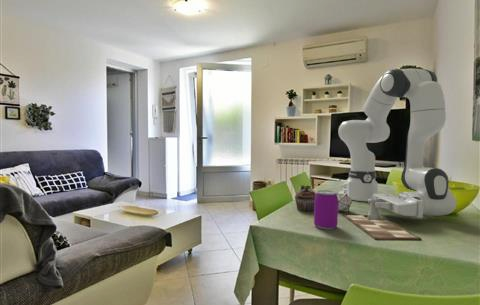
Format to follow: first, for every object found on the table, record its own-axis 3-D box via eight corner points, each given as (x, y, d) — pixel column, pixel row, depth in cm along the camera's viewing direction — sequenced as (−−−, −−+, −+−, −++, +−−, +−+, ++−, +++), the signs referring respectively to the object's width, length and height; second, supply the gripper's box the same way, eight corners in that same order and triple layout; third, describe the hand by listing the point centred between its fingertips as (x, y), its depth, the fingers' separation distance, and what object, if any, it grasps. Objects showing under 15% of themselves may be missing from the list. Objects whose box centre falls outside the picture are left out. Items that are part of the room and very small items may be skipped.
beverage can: (313, 228, 97) (314, 193, 96) (314, 222, 104) (315, 189, 104) (337, 231, 95) (339, 194, 94) (336, 224, 102) (337, 190, 102)
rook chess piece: (364, 217, 112) (365, 196, 111) (375, 217, 112) (376, 196, 112) (371, 220, 107) (371, 199, 107) (382, 220, 108) (383, 199, 107)
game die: (346, 221, 119) (357, 205, 113) (326, 212, 121) (335, 196, 114) (347, 206, 126) (358, 190, 120) (328, 198, 127) (338, 182, 121)
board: (343, 215, 113) (343, 214, 113) (378, 216, 114) (378, 215, 114) (375, 239, 87) (375, 238, 87) (421, 240, 88) (421, 238, 88)
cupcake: (320, 212, 118) (321, 188, 118) (296, 212, 119) (297, 187, 118) (315, 206, 128) (315, 184, 127) (293, 206, 128) (293, 183, 128)
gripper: (393, 190, 120) (360, 189, 119) (426, 201, 99) (385, 200, 99) (393, 205, 120) (359, 204, 120) (425, 219, 100) (385, 219, 99)
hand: (371, 203), depth 109 cm, fingers closed on rook chess piece, 3 cm apart
